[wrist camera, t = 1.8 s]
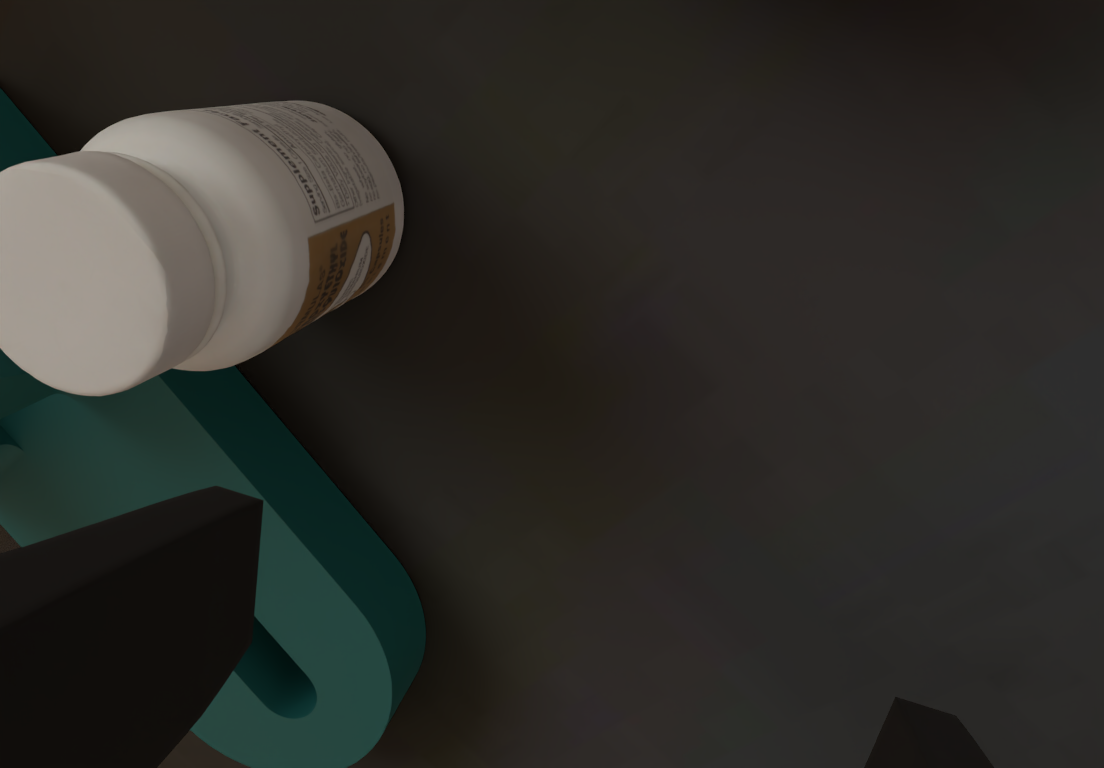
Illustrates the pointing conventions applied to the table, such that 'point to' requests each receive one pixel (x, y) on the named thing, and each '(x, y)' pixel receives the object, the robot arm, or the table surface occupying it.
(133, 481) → the bracket
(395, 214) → the pill bottle
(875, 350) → the table surface
